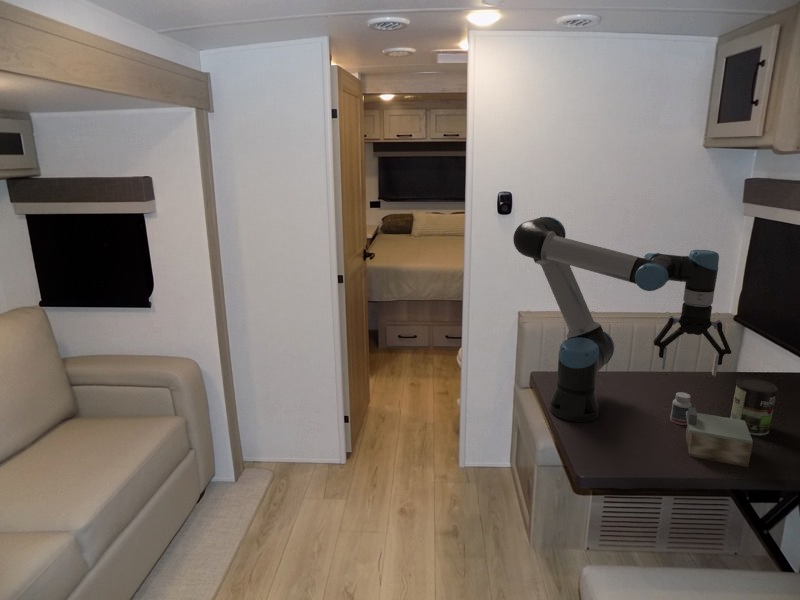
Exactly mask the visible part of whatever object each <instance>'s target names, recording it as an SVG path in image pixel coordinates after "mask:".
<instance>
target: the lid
mask: <svg viewBox="0 0 800 600" xmlns="http://www.w3.org/2000/svg"><path fill="white" fill-rule="evenodd" d="M686 418H687V423H688V429H689V433H695V434H700V435H706V436H712V437H717V438H723V439H729V440H734V441H740V442H746V443H751V444H752V443H753V439H752V435H750V433H749V430H748V428H747V425H746V422H745V421H744V420H738V419H732V418H730V417H725V416H718V415H713V414H706V413H701V412H697V408H696V407H688V411H686Z"/></svg>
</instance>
